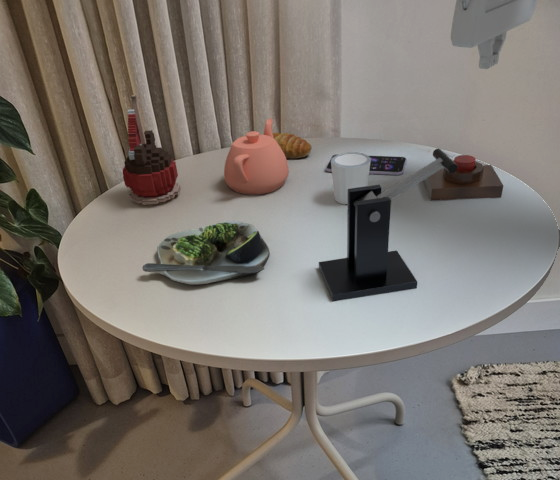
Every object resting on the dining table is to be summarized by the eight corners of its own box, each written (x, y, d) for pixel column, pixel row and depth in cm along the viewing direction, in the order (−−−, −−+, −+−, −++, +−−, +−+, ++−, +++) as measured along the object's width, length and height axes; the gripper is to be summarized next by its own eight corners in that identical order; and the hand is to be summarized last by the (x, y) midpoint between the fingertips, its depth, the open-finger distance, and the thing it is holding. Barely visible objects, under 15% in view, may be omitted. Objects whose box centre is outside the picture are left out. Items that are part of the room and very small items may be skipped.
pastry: (317, 150, 121) (317, 132, 118) (302, 163, 117) (301, 144, 114) (279, 145, 125) (277, 127, 122) (263, 157, 121) (261, 138, 118)
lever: (444, 158, 76) (438, 142, 74) (460, 174, 72) (454, 158, 70) (357, 210, 79) (349, 197, 77) (368, 229, 75) (361, 214, 73)
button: (471, 164, 102) (473, 154, 100) (476, 172, 99) (477, 162, 98) (451, 165, 102) (452, 155, 101) (454, 173, 99) (456, 163, 98)
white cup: (377, 195, 103) (379, 156, 98) (353, 210, 99) (354, 170, 95) (347, 186, 107) (347, 148, 102) (323, 200, 103) (322, 161, 98)
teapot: (211, 198, 107) (203, 147, 101) (248, 161, 119) (243, 113, 113) (271, 204, 103) (267, 151, 97) (303, 165, 116) (301, 116, 109)
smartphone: (332, 153, 117) (407, 156, 113) (332, 156, 117) (407, 159, 114) (324, 169, 112) (402, 172, 108) (324, 172, 112) (402, 175, 108)
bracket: (396, 257, 87) (402, 174, 78) (416, 289, 80) (425, 202, 71) (318, 268, 86) (316, 186, 77) (332, 302, 79) (331, 215, 71)
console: (489, 176, 106) (493, 154, 103) (501, 197, 99) (505, 175, 96) (423, 179, 107) (425, 158, 104) (430, 201, 100) (432, 178, 97)
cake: (175, 207, 105) (154, 103, 93) (125, 210, 106) (98, 107, 94) (184, 183, 113) (166, 84, 101) (138, 186, 114) (114, 88, 102)
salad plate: (152, 306, 81) (144, 278, 78) (137, 248, 94) (130, 223, 91) (282, 276, 85) (280, 249, 82) (250, 225, 98) (247, 199, 95)
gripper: (488, -29, 74) (474, 86, 83) (555, -51, 85) (535, 53, 94) (445, -29, 78) (435, 81, 87) (514, -51, 89) (499, 49, 98)
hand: (488, 66), depth 91 cm, fingers closed
